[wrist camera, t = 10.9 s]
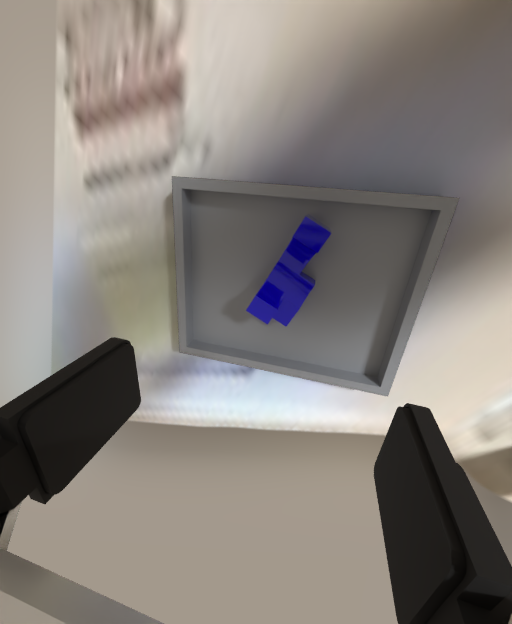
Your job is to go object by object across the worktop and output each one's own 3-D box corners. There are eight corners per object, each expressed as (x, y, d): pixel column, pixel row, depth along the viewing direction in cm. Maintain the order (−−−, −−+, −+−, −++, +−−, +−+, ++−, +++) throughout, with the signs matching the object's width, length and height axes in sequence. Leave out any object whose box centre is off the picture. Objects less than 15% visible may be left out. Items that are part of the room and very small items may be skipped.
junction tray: (442, 198, 19) (459, 197, 16) (381, 379, 25) (387, 396, 23) (187, 179, 22) (171, 176, 20) (190, 340, 29) (179, 352, 26)
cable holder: (289, 315, 24) (283, 335, 20) (257, 294, 24) (245, 310, 20) (345, 238, 20) (351, 245, 17) (308, 214, 20) (305, 216, 17)
